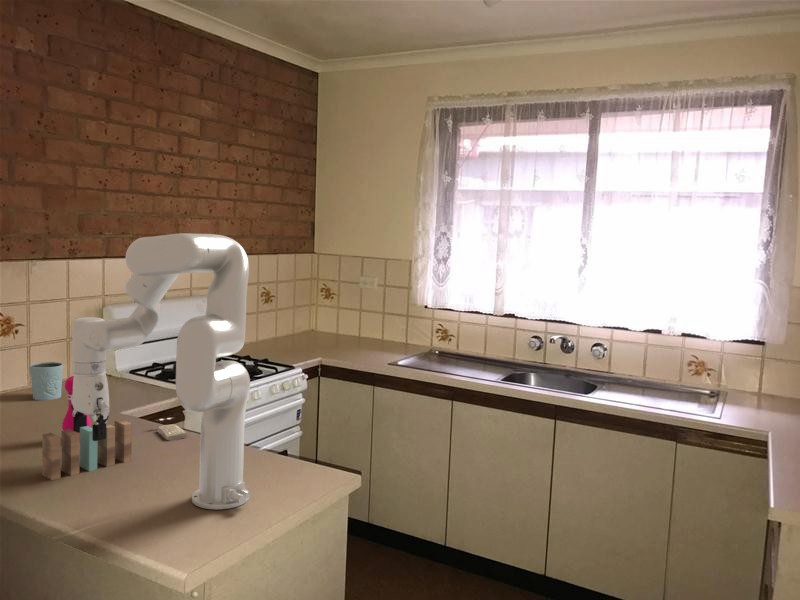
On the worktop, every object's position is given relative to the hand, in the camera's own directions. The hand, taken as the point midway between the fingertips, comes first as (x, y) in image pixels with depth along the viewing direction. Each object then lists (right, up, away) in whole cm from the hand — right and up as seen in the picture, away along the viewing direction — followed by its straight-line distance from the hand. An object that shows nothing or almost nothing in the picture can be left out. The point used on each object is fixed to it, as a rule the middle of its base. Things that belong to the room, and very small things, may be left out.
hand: (89, 435), depth 166 cm
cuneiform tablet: (+7, -4, +34) cm, 35 cm away
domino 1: (-6, -9, -6) cm, 12 cm away
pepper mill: (-14, -6, +21) cm, 26 cm away
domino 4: (+2, -8, +4) cm, 9 cm away
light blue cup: (-45, -1, +64) cm, 78 cm away
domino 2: (-3, -8, -3) cm, 9 cm away
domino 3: (-1, -8, +1) cm, 8 cm away
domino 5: (+5, -8, +8) cm, 12 cm away
